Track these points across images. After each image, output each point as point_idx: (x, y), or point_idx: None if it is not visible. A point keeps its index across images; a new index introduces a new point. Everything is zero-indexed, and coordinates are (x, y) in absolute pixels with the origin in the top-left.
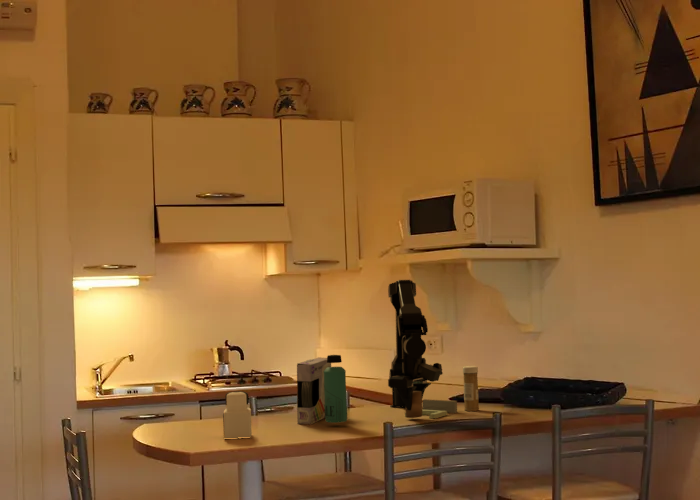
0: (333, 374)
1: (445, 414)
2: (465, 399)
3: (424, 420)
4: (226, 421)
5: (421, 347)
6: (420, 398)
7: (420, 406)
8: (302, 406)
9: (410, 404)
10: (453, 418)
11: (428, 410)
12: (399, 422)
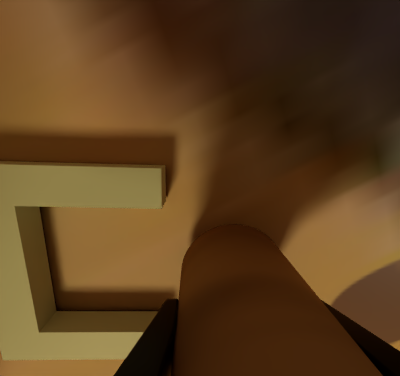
0: None
1: (3, 161)
2: None
3: (236, 194)
4: None
5: None
6: (305, 339)
7: (264, 264)
8: None
9: (373, 334)
10: (87, 52)
11: (13, 286)
12: (338, 279)
